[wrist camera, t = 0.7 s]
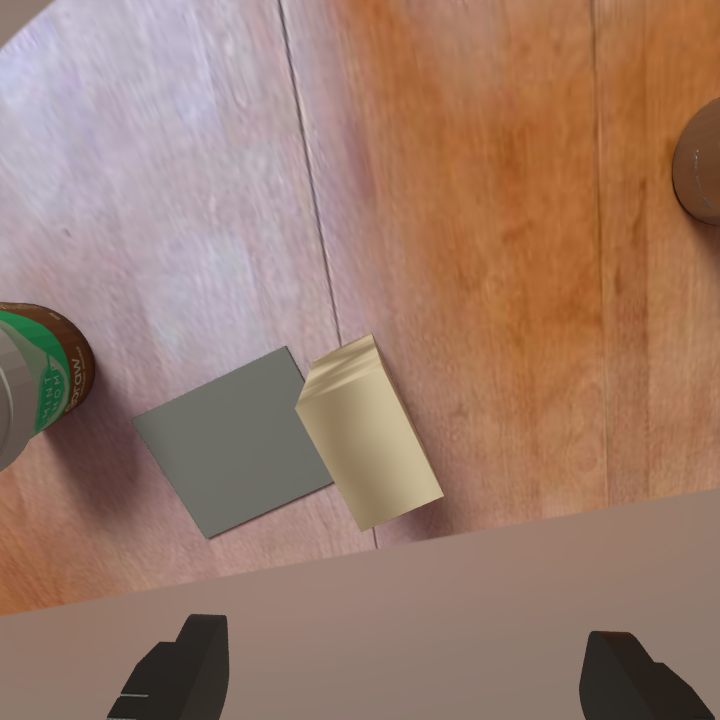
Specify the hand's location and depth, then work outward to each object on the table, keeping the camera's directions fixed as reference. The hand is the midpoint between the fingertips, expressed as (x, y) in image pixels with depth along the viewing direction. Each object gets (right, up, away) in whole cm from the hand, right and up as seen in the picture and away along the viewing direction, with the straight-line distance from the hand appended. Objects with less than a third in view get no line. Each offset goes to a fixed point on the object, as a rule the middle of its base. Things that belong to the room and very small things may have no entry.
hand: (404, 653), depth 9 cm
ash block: (-1, +4, +25) cm, 25 cm away
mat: (-11, -1, +25) cm, 27 cm away
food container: (-24, +6, +24) cm, 34 cm away
